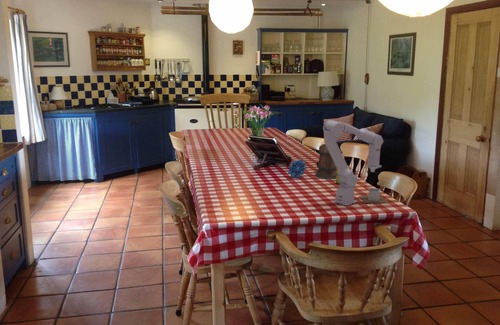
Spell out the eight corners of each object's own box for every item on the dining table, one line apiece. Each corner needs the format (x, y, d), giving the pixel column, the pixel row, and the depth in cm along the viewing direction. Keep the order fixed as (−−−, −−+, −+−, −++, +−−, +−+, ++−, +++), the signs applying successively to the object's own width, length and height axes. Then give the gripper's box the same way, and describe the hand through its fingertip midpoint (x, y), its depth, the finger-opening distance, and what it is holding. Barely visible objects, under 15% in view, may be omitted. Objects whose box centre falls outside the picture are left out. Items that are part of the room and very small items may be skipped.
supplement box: (335, 183, 272) (336, 165, 269) (344, 182, 274) (345, 164, 272) (340, 185, 266) (341, 167, 264) (349, 184, 269) (350, 166, 266)
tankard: (346, 178, 283) (347, 146, 278) (321, 180, 278) (322, 148, 274) (329, 169, 305) (330, 140, 300) (306, 171, 300) (307, 141, 296)
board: (388, 203, 234) (389, 196, 233) (365, 204, 233) (366, 196, 232) (380, 196, 245) (381, 189, 244) (358, 197, 244) (359, 189, 244)
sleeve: (379, 201, 235) (379, 192, 234) (368, 200, 237) (368, 191, 236) (379, 198, 241) (380, 189, 240) (368, 197, 242) (369, 188, 241)
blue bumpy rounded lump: (304, 175, 288) (305, 157, 285) (307, 178, 281) (307, 159, 279) (286, 176, 286) (286, 157, 284) (288, 179, 280) (289, 160, 277)
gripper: (381, 160, 227) (379, 186, 230) (382, 154, 241) (380, 179, 244) (367, 159, 229) (365, 185, 232) (368, 153, 243) (366, 178, 246)
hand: (372, 182), depth 238 cm, fingers open, 7 cm apart
